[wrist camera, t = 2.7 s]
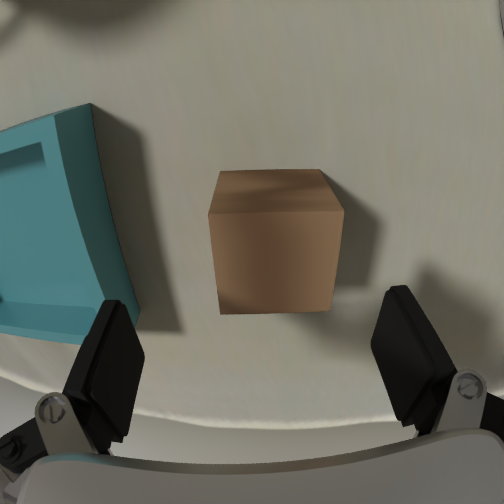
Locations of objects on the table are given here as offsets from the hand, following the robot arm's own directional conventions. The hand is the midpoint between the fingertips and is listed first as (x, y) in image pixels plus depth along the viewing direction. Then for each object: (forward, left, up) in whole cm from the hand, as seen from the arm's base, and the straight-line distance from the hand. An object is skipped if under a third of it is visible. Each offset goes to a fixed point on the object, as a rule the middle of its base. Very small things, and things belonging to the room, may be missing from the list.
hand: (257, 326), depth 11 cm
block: (-1, -1, -8) cm, 8 cm away
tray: (+16, -1, -8) cm, 18 cm away
